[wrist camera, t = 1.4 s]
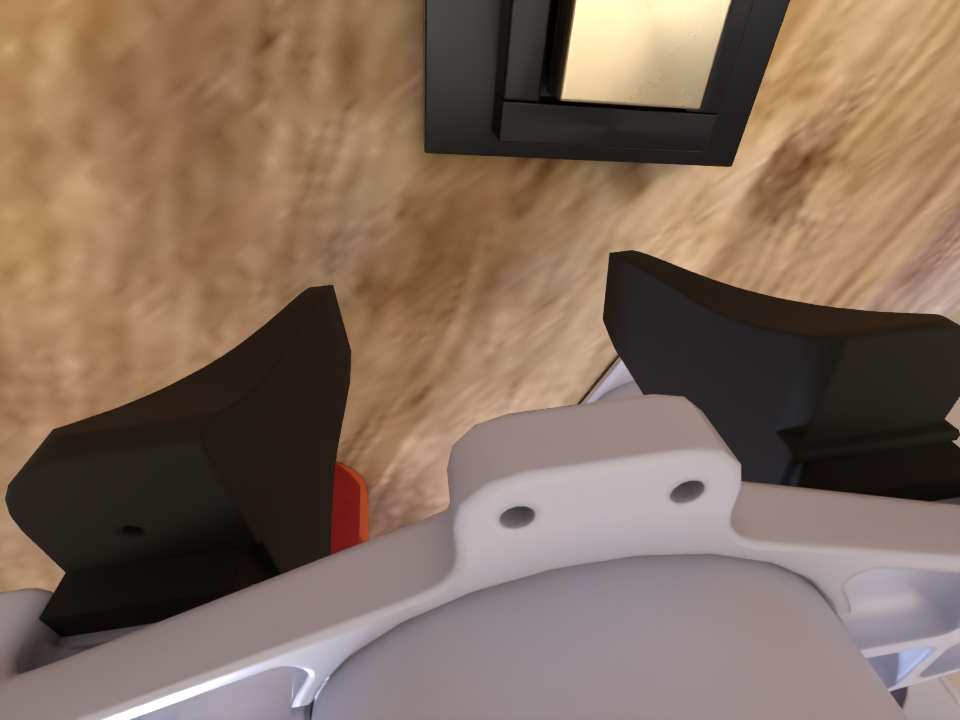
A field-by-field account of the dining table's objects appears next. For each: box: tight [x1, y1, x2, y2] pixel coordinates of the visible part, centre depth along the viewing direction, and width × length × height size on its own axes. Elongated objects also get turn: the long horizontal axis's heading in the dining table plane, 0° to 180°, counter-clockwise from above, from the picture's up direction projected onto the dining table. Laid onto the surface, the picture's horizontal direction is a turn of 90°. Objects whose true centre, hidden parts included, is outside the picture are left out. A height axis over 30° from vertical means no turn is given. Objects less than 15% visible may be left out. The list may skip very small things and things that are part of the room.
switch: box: [547, 0, 732, 109], centre depth 14 cm, size 4×4×2 cm
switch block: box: [423, 0, 790, 167], centre depth 16 cm, size 12×9×4 cm
